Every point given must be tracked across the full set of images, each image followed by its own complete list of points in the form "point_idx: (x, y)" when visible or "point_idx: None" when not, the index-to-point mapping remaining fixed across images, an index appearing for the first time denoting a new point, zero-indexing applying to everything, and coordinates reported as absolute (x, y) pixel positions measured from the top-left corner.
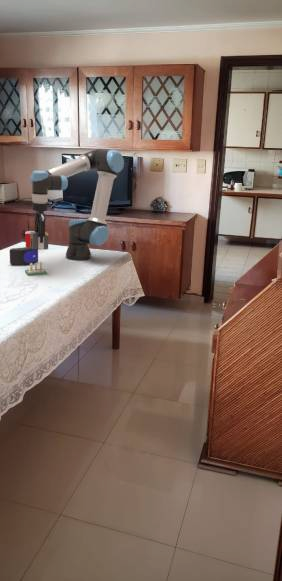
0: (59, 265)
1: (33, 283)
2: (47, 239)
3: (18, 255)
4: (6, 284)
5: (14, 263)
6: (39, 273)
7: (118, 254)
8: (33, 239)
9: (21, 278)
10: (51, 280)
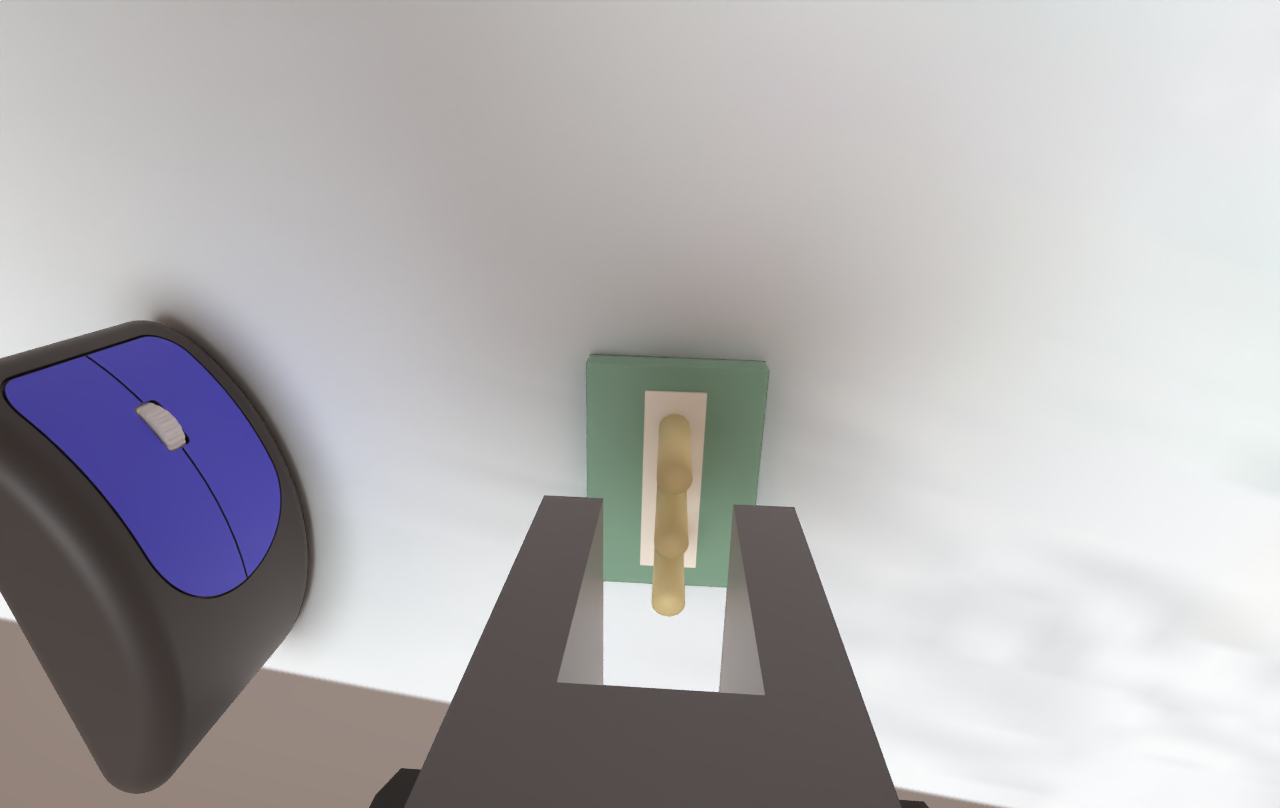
0: (347, 41)
1: (1040, 591)
2: (861, 737)
3: (234, 654)
4: (943, 788)
5: (294, 619)
6: (758, 463)
7: None
8: None
9: None
10: (1038, 386)
